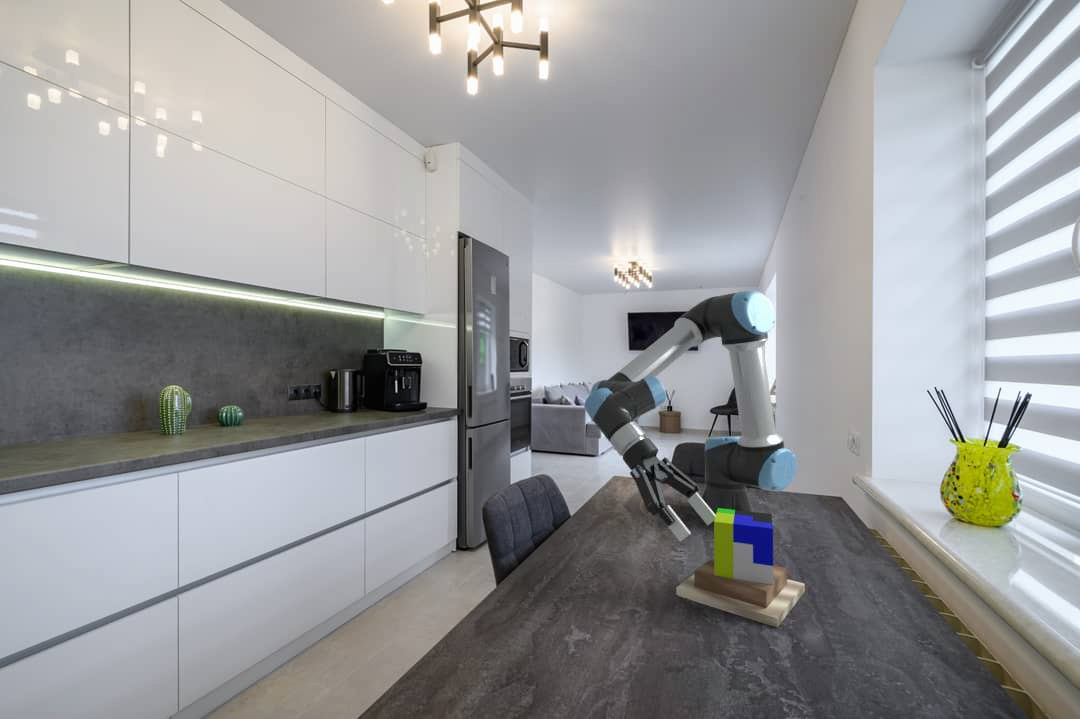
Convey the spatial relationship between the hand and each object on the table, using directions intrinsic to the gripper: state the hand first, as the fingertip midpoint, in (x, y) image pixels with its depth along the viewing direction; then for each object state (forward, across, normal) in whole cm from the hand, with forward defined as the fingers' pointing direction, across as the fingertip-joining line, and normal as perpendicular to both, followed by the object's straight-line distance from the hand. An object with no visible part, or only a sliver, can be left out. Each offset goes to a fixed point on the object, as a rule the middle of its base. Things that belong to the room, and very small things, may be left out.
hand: (699, 529), depth 101 cm
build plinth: (+13, 0, -2) cm, 13 cm away
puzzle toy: (+10, 0, +2) cm, 11 cm away
